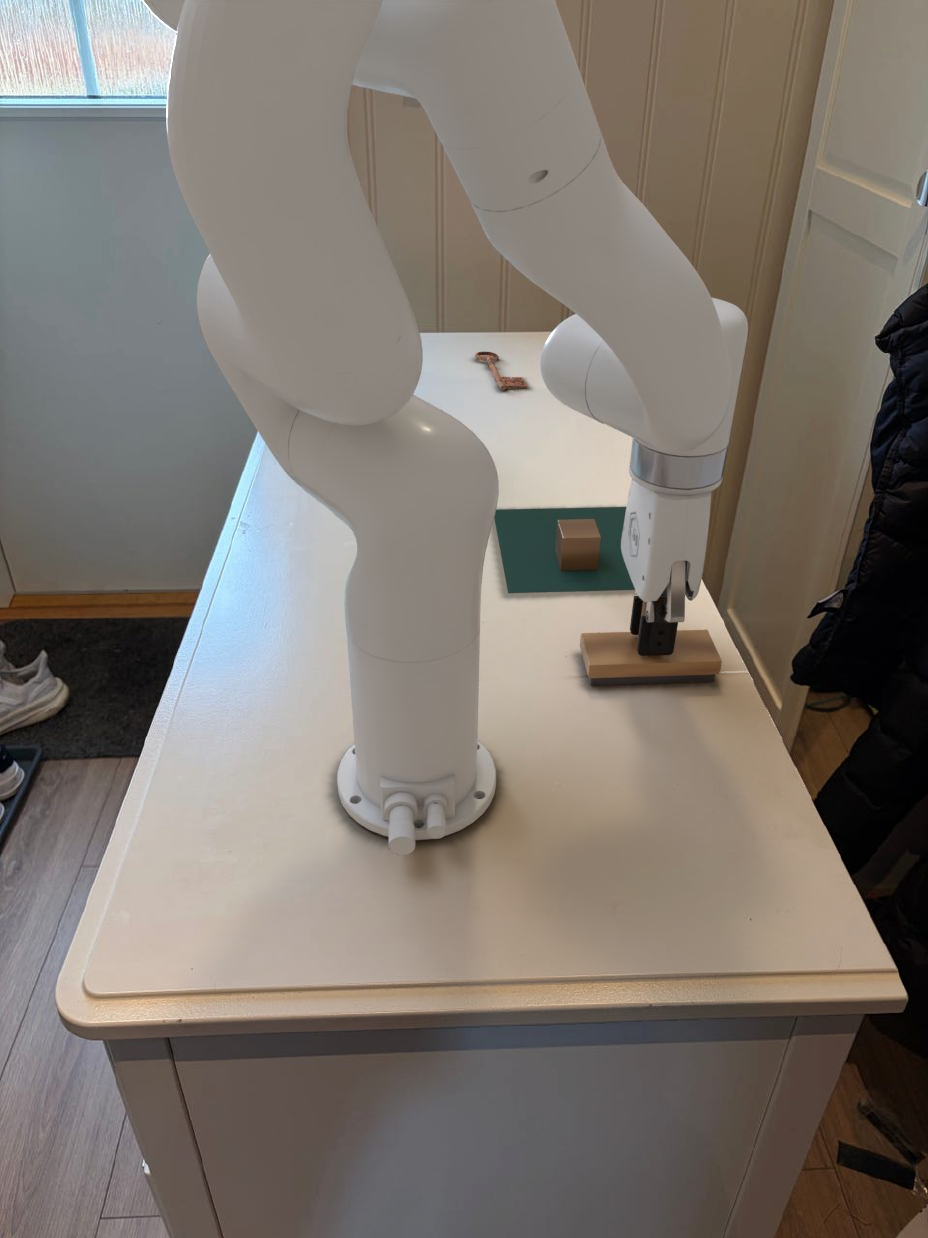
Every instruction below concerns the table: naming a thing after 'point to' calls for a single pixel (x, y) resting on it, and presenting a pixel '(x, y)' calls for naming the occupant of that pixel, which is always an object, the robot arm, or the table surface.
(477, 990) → the table surface
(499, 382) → the key
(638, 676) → the brush
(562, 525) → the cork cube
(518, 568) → the mat
